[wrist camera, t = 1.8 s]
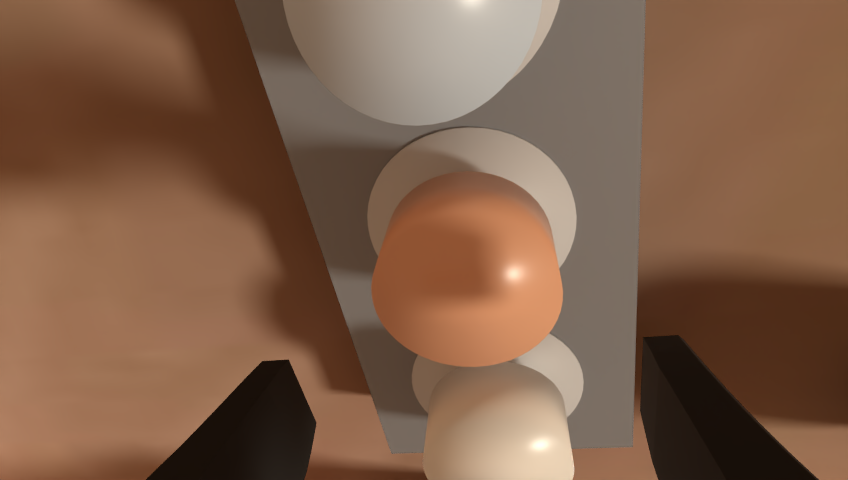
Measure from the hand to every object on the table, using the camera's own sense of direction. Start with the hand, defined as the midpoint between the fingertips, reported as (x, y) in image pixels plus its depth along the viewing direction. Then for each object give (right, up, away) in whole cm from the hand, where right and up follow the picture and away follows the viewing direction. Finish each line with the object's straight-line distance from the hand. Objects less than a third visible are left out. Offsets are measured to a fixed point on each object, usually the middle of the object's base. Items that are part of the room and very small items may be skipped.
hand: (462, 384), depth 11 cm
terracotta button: (0, +3, +4) cm, 5 cm away
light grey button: (-1, +9, +1) cm, 9 cm away
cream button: (+2, -3, +8) cm, 9 cm away
